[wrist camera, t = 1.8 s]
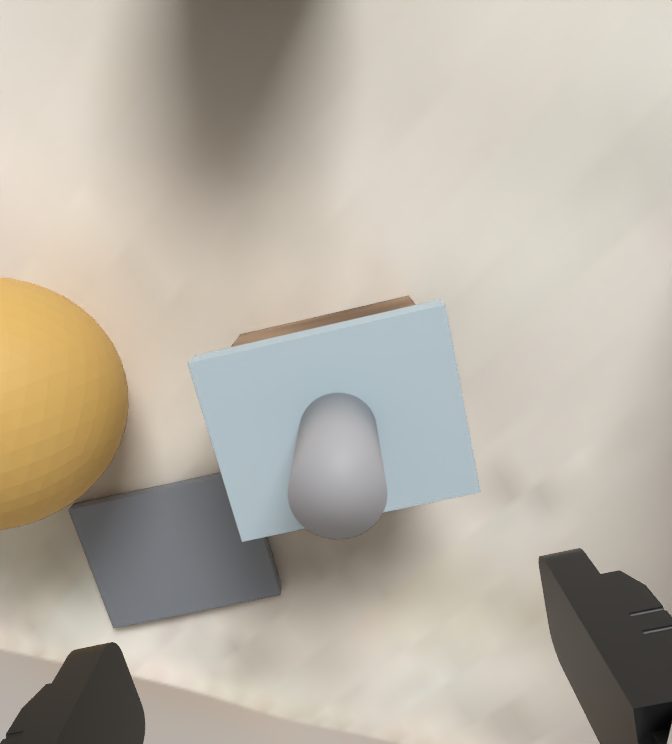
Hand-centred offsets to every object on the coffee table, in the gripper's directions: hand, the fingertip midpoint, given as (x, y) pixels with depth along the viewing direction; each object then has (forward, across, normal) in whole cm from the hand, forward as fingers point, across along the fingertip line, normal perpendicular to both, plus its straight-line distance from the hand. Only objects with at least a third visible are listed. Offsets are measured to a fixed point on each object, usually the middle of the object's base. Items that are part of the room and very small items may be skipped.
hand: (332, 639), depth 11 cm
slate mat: (+19, +10, +7) cm, 22 cm away
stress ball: (+19, +13, -3) cm, 23 cm away
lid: (+12, 0, 0) cm, 13 cm away
